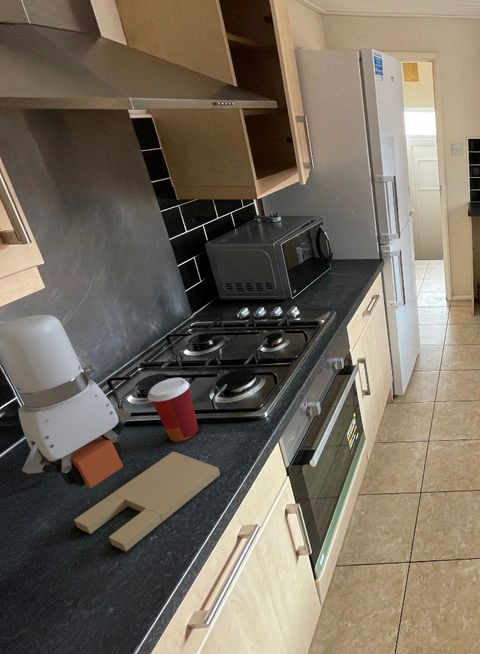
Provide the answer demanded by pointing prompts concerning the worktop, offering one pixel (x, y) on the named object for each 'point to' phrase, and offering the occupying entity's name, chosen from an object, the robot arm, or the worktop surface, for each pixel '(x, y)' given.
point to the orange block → (96, 461)
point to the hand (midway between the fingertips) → (97, 470)
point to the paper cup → (175, 408)
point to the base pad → (150, 497)
